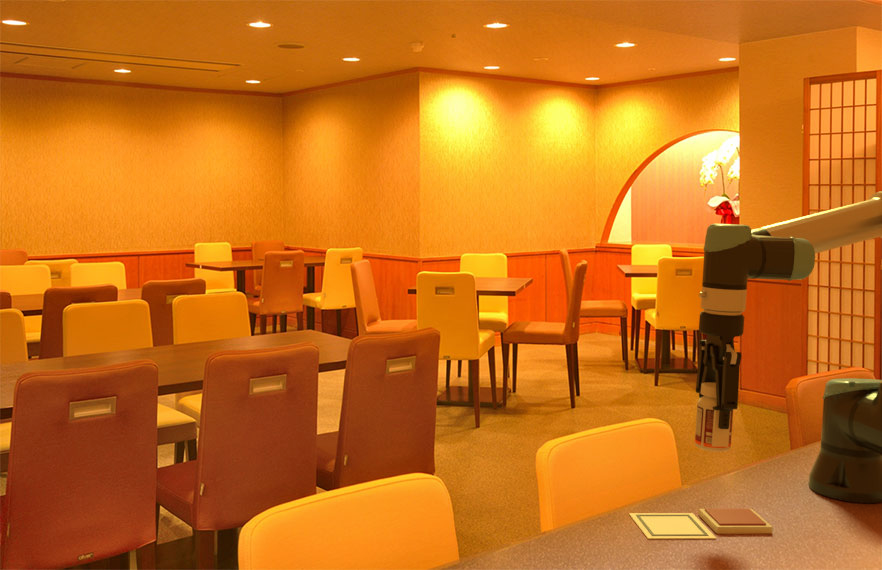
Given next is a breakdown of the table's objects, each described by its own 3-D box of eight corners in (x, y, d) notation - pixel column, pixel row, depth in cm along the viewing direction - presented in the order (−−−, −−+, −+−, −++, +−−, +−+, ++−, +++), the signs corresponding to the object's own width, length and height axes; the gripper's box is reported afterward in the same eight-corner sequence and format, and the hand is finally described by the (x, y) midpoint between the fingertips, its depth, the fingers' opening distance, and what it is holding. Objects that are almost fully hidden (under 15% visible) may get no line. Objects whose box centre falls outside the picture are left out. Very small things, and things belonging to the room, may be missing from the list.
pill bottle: (737, 449, 160) (742, 387, 158) (714, 454, 156) (719, 390, 155) (709, 441, 165) (714, 380, 164) (687, 445, 161) (691, 383, 160)
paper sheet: (692, 514, 167) (692, 512, 167) (716, 539, 155) (716, 537, 155) (628, 514, 166) (628, 512, 166) (648, 539, 155) (648, 537, 154)
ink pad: (751, 515, 168) (751, 507, 167) (772, 533, 159) (772, 525, 158) (698, 515, 167) (699, 507, 167) (716, 533, 158) (717, 525, 158)
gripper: (683, 304, 167) (674, 426, 169) (722, 318, 148) (711, 455, 150) (722, 305, 168) (713, 427, 170) (766, 320, 149) (755, 456, 151)
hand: (712, 440), depth 160 cm, fingers closed on pill bottle, 6 cm apart
